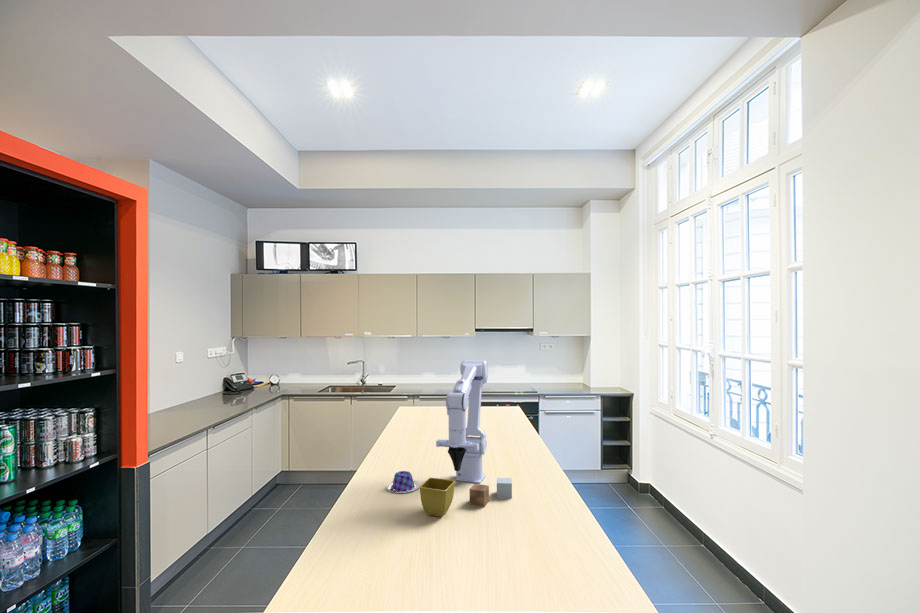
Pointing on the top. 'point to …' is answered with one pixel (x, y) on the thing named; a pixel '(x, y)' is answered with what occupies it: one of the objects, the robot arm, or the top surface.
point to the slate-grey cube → (504, 488)
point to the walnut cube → (479, 495)
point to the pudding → (403, 482)
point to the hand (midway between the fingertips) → (457, 470)
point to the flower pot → (437, 496)
